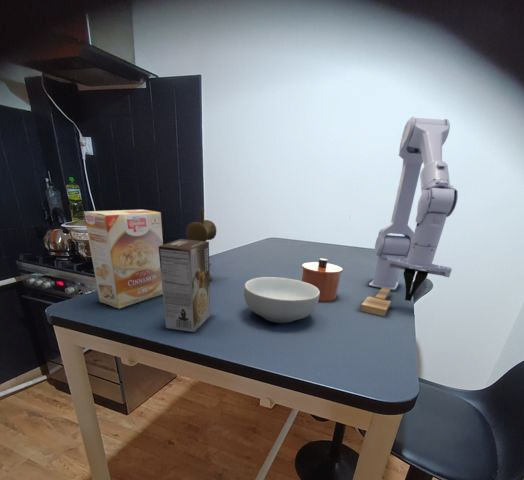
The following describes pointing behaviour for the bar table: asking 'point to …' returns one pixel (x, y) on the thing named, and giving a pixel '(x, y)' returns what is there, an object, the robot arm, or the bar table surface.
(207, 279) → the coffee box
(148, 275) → the coffeecake box
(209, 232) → the kendama
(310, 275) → the pot
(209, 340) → the bar table surface
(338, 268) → the pot lid
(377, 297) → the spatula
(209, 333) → the bar table surface
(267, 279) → the cereal bowl
